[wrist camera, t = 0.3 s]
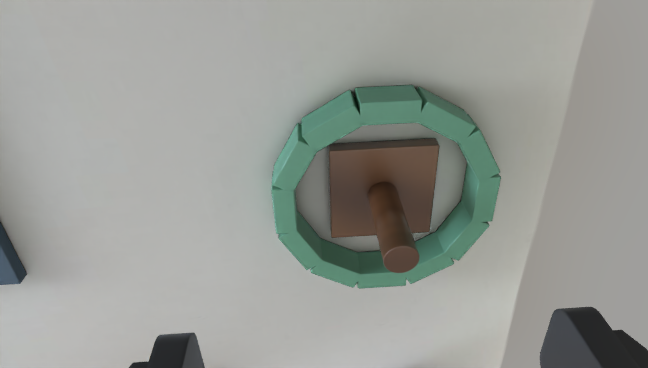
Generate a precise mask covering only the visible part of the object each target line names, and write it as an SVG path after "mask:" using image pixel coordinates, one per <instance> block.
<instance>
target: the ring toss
mask: <svg viewBox="0 0 648 368" xmlns="http://www.w3.org/2000/svg"><path fill="white" fill-rule="evenodd" d="M438 153H439V144H438V142H437V140H436V139H435V138H433V139H415V140H396V141H378V142H360V143H341V144H330V145H328V162H329V195H330V228H331V237H332V238H336V237H353V236H369V235H377V238H378V242H379V246H380V250H381V255H382V259H383V263H384V266H385V267H386V268H387V269H388V270H389V271H391V272H394V273H404V272H408V271H410V270H412V269H413V268H414V267H415V266H416V265H417V264H418V262H419V253H418V250H417V247H416V244H415V241H414V238H413V235H412V233H419V232H429V231H430V223H431V214H432V205H433V196H434V188H435V179H436V170H437V162H438Z"/></svg>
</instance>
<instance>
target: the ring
mask: <svg viewBox="0 0 648 368" xmlns="http://www.w3.org/2000/svg"><path fill="white" fill-rule="evenodd" d="M398 123H419V124H421V125H423V126H425V127H427V128H429V129H431V130H433V131H435V132H437V133H439V134H441V135H443V136H445V137H447V138H449V139H451V140H453V141H455V142H457V144H458V146H459V148H460V150H461V151H462V153H463V155H464V157H465V159H466V161H467V167H466V173H465V180H464V186H463V192H462V199H461V201H460V203H459V204H458V205H457V206H456V207H455V209H454V210H453V211H452V212H451V214H450V215H449V216H448V217H447V218H446V220H445V221H444V222H443V223H442V225H441V226H440V227H439V228H438V230H437V231H436V232H434V233H432V234H430V235H428V236H426V237H424V238H422V239H420V240H418V241H416V242H415V244H416V247H417V250H418V253H419V262H418V264H417V265H416V266H415V267H414V268H413V269H412V270H410V271H408V272H404V273H394V272H391V271H389V270H388V269H387V268H386V267H385V266H384V263H383V259H382V255H381V251H372V252H354V251H352V250H349V249H347V248H344V247H341V246H339V245H336V244H333V243H331V242H328V241H326V240H323V239H320V237H319V236H318V235H317V234H316V233H315V231H314V230H313V229H312V228H311V226H310V225H309V224H308V223H307V222H306V220H305V219H304V218H303V217H302V216H301V214H300V213H299V212H298V211H297V203H296V190H295V188H296V187H297V185H298V183H299V182H300V180H301V178H302V177H303V175H304V173H305V171H306V170H307V168H308V166H309V165H310V163H311V161H312V160H313V158H314V156H315V155H316V153H317V152H318V151H319V150H321V149H323V148H325V147H326V146H328V145H330V144H331V143H333V142H335V141H337V140H338V139H340V138H342V137H344V136H345V135H347V134H349V133H351V132H352V131H354V130H356V129H358V128H359V127H361V126H363V125H379V124H398ZM498 173H500V170H499V168H498V166H497V164H496V162H495V160H494V158H493V155H492V153H491V151H490V149H489V147H488V145H487V143H486V141H485V139H484V137H483V135H482V133H481V131H480V129H479V128H478V127H477V125H476V124H475V123H474V121H473V120H472V119H471V117H470V116H469V115H468V114H466V113H465V111H464V110H463V109H461V108H459V107H457V106H455V105H453V104H451V103H450V102H448V101H446V100H444V99H442V98H440V97H438V96H436V95H434V94H433V93H431V92H429V91H427V90H425V89H423V88H421V87H418V88H417V90H416V89H415V88H414V86H413V85H400V86H381V87H361V88H355V97H354V95H353V94H352V92H351V91H350V90H348V91H347V92H345V93H343V94H342V95H340V96H338V97H337V98H335V99H333V100H332V101H330V102H328V103H327V104H325V105H323V106H322V107H320V108H318V109H317V110H315V111H313V112H312V113H310V114H308V115H307V116H305V117H303V118H302V125H301V124H299V123H297V124H296V126H295V128H294V130H293V132H292V134H291V135H290V137H289V139H288V141H287V143H286V145H285V146H284V148H283V150H282V152H281V154H280V156H279V157H278V159H277V161H276V163H275V165H274V171H273V176H272V190H271V191H272V200H273V209H274V218H275V227H276V233H277V234H279V237H278V238H279V239H280V241H281V242H282V243H283V244H284V245H285V246H286V247H287V248H288V250H289V251H290V252H291V253H292V254H293V255H294V256H295V257H296V259H297V260H298V261H299V262H300V263H301V264H302V265H303V266H304V267H305V269H306V270H308V269H310V268H311V273H313V274H316V275H319V276H322V277H324V278H327V279H330V280H333V281H336V282H338V283H341V284H344V285H347V286H350V287H352V288H353V287H354V286H355V285H356V284H357V285H358V288H374V287H390V286H405V285H406V278H407V280H408V281H409V283H410V284H412V283H414V282H416V281H418V280H421V279H423V278H425V277H427V276H429V275H431V274H433V273H436V272H438V271H440V270H442V269H444V268H446V267H448V266H451V265H453V264H454V261H453V259H456V260H460V259H461V257H462V256H463V255H464V254H465V253H466V252H467V251H468V249H469V248H470V247H471V246H472V245H473V244H474V243H475V242H476V240H477V239H478V238H479V237H480V236H481V235H482V234H483V232H484V231H485V230H486V229H487V228H488V227H489V224H488V221H492V219H493V214H494V209H495V204H496V199H497V194H498V189H499V185H500V180H501V176H500V175H499V174H498ZM452 258H453V259H452Z"/></svg>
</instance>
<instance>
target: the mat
mask: <svg viewBox="0 0 648 368" xmlns="http://www.w3.org/2000/svg"><path fill="white" fill-rule="evenodd" d="M26 275H27V274H26V272H25V270H24V268H23V266H22V264H21V262H20V260H19V258H18V256H17V254H16V252H15V250H14V248H13V246H12V244H11V242H10V240H9V238H8V236H7V234H6V233H5V231H4V229H3V227H2V225H1V223H0V285H6V284H20V283H21V282H22V281H23V279H24V278H25V276H26Z"/></svg>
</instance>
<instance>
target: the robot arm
mask: <svg viewBox="0 0 648 368" xmlns="http://www.w3.org/2000/svg"><path fill="white" fill-rule="evenodd" d="M540 365H541V368H648V350H647V349H646V348H645V347H643V346H642V345H641V344H639V343H638V342H637V341H635V340H634V339H633V338H631V337H630V336H629V335H628V334H626V333H625V332H624V331H623V330H612V329H611V327H610V326H609V325H608V323H607V322H606V321H605V319H604V318H603V317H602V315H601V314H600V313H599V311H597V310H596V309H595V308H593V307H579V308H565V309H556V310H555V311H554V313H553V314H552V317H551V320H550V324H549V327H548V330H547V333H546V336H545V339H544V343H543V346H542V349H541V352H540ZM129 368H205V367H204V363H203V359H202V356H201V352H200V348H199V345H198V341H197V337H196V335H195V333H181V334H166V335H159V336H158V337H157V339H156V341H155V344H154V347H153V350H152V353H151V356H150V360H149V362H136V363H132V365H131V366H130V367H129Z"/></svg>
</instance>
